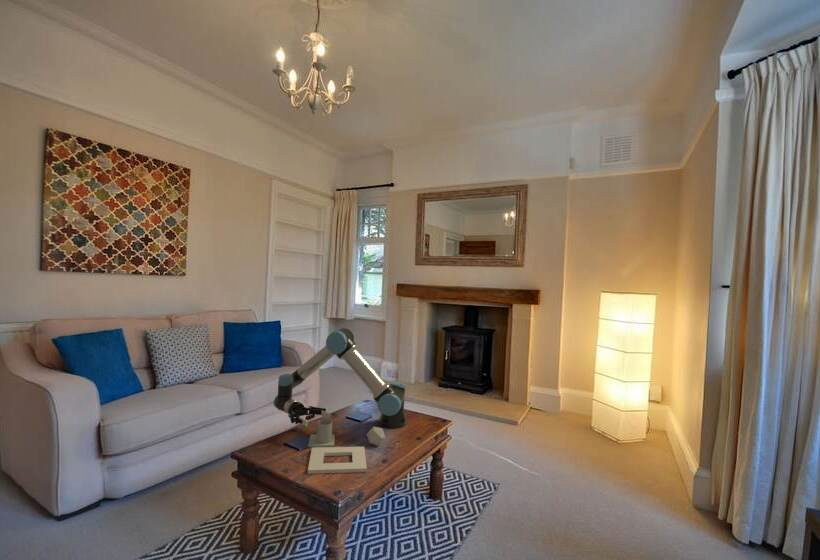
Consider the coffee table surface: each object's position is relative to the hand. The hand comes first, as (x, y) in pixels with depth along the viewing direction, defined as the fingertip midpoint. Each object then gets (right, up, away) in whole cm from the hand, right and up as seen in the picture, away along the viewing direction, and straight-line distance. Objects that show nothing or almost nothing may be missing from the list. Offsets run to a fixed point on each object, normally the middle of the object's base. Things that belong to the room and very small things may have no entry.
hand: (318, 420), depth 181 cm
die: (+28, -12, -1) cm, 30 cm away
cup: (+2, -9, -2) cm, 9 cm away
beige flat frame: (+13, -10, -20) cm, 26 cm away
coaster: (+2, -10, -2) cm, 10 cm away
